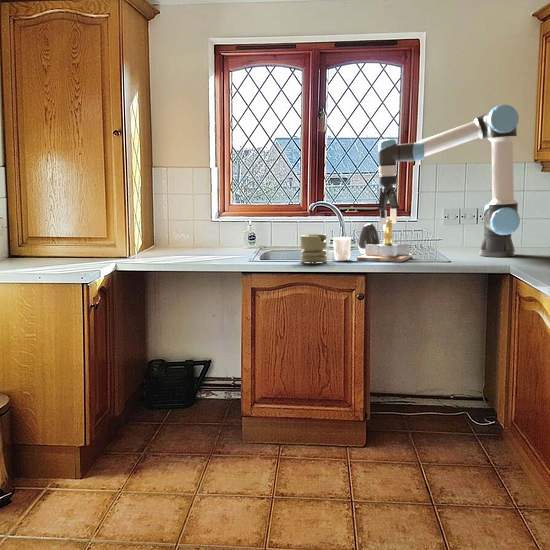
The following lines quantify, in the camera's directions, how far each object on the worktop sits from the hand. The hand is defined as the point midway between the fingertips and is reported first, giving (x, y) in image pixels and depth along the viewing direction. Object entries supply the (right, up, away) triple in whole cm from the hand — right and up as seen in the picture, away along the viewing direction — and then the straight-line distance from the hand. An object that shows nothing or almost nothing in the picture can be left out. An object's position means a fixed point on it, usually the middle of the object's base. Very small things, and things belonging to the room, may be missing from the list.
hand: (388, 224), depth 283 cm
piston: (-33, -17, 0) cm, 37 cm away
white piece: (0, -14, +4) cm, 14 cm away
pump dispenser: (-6, -13, +21) cm, 25 cm away
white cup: (-20, -16, +5) cm, 26 cm away
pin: (0, -14, +2) cm, 14 cm away
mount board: (-1, -15, +4) cm, 16 cm away
